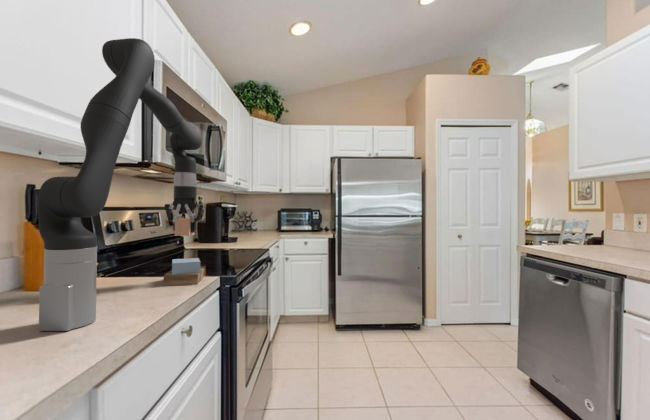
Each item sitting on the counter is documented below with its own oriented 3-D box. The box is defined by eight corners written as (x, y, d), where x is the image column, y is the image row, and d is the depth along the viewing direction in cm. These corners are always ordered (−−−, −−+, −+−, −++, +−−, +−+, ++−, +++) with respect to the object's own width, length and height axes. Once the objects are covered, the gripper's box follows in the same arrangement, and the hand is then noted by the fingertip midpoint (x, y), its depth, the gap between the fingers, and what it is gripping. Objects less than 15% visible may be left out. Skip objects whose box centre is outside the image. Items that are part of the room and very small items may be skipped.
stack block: (188, 235, 109) (189, 218, 109) (174, 235, 109) (174, 218, 109) (194, 234, 114) (194, 218, 114) (180, 234, 114) (180, 218, 114)
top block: (200, 272, 109) (200, 261, 109) (172, 274, 105) (172, 263, 105) (198, 268, 117) (198, 257, 117) (172, 270, 113) (172, 259, 113)
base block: (197, 285, 107) (197, 274, 107) (163, 286, 105) (163, 275, 105) (203, 278, 118) (203, 268, 118) (172, 279, 116) (173, 269, 116)
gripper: (160, 184, 107) (159, 233, 107) (201, 185, 108) (201, 233, 108) (170, 186, 115) (169, 231, 115) (208, 186, 115) (208, 232, 115)
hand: (184, 232), depth 111 cm, fingers closed on stack block, 5 cm apart
